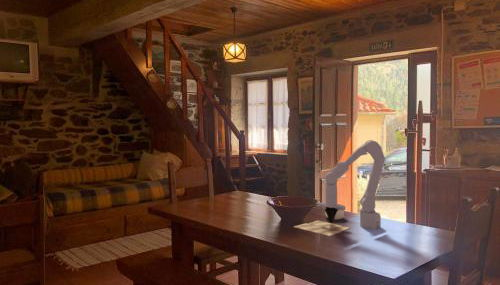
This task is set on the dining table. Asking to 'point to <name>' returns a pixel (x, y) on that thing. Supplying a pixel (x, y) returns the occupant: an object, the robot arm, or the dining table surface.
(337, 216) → the lidded jar
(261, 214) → the dining table surface
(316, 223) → the board
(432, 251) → the dining table surface
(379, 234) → the dining table surface
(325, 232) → the thin wooden board
